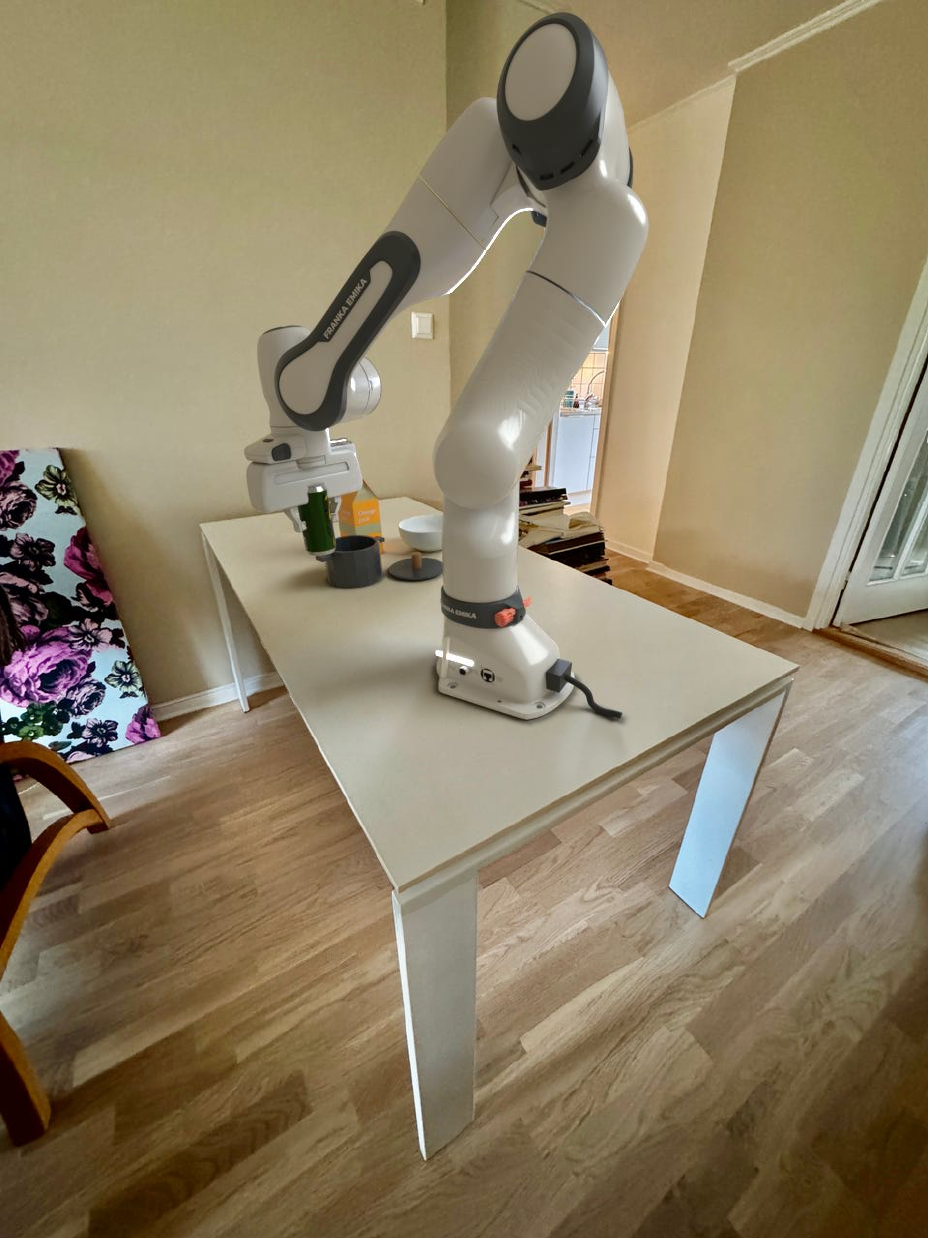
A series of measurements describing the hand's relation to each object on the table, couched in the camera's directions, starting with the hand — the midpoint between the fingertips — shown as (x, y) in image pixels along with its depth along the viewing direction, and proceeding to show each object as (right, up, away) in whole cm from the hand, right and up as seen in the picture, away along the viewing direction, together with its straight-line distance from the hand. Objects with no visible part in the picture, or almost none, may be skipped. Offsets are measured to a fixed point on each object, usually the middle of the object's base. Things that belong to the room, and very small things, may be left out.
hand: (317, 526), depth 84 cm
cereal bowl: (+17, +3, +49) cm, 51 cm away
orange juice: (-2, +2, +46) cm, 46 cm away
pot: (0, -6, +30) cm, 30 cm away
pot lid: (+14, -4, +32) cm, 36 cm away
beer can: (0, -4, +2) cm, 5 cm away
